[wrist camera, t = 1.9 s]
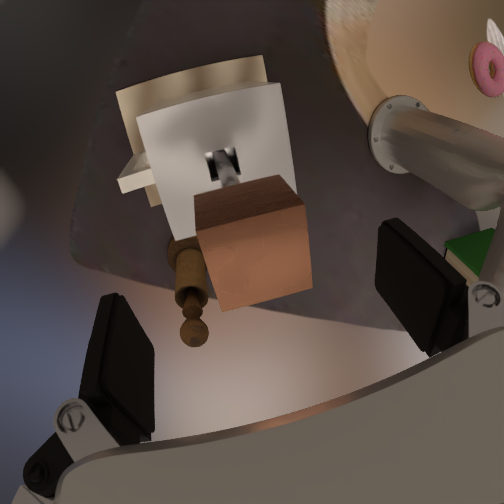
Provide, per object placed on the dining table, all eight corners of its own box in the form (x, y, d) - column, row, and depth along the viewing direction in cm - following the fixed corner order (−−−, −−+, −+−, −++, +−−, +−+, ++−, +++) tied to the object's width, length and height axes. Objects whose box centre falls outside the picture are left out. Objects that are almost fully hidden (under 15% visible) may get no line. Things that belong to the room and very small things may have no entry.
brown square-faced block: (253, 97, 25) (355, 135, 10) (268, 180, 30) (356, 308, 15) (162, 119, 25) (115, 193, 9) (185, 201, 30) (189, 354, 14)
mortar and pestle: (164, 232, 43) (156, 323, 28) (209, 226, 44) (223, 315, 29) (172, 270, 46) (171, 365, 31) (214, 265, 47) (229, 357, 32)
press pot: (246, 80, 33) (280, 83, 21) (262, 162, 39) (298, 209, 27) (128, 111, 32) (92, 133, 20) (153, 191, 38) (137, 251, 26)
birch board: (260, 55, 32) (262, 55, 31) (280, 170, 41) (282, 172, 40) (117, 91, 31) (115, 91, 30) (152, 203, 40) (151, 206, 39)
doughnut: (469, 29, 31) (486, 30, 28) (500, 58, 34) (515, 61, 31) (459, 79, 37) (476, 82, 33) (491, 104, 40) (506, 109, 36)
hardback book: (438, 270, 59) (504, 344, 39) (444, 241, 55) (520, 315, 35) (484, 253, 60) (546, 312, 41) (492, 227, 56) (559, 286, 36)
